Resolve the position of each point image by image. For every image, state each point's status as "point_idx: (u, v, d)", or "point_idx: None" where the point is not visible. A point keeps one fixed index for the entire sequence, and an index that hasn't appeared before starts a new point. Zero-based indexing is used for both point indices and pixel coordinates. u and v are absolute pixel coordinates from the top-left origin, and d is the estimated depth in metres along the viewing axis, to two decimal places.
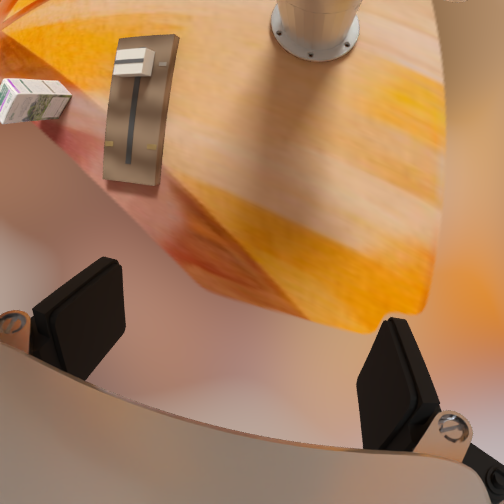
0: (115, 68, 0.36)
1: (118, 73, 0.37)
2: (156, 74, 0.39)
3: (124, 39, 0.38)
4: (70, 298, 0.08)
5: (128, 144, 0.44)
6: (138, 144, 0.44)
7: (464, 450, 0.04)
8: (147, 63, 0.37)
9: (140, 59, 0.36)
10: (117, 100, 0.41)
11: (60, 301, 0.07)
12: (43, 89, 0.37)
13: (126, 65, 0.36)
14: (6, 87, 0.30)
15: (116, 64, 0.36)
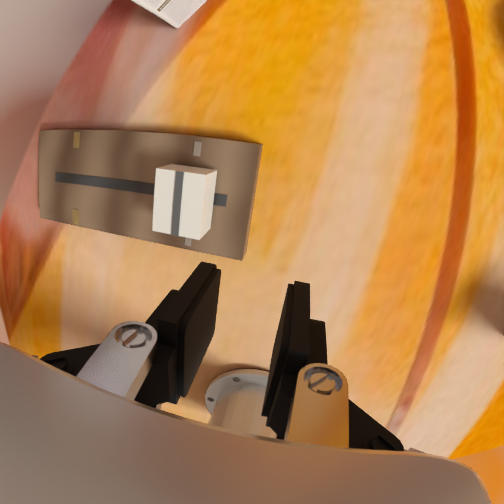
0: (167, 173, 0.22)
1: (157, 180, 0.23)
2: None
3: (253, 158, 0.24)
4: (191, 305, 0.08)
5: (76, 177, 0.27)
6: (76, 194, 0.28)
7: (345, 398, 0.06)
8: None
9: (178, 228, 0.24)
10: (134, 151, 0.25)
11: (185, 308, 0.08)
12: None
13: (170, 198, 0.23)
14: None
15: (174, 175, 0.22)
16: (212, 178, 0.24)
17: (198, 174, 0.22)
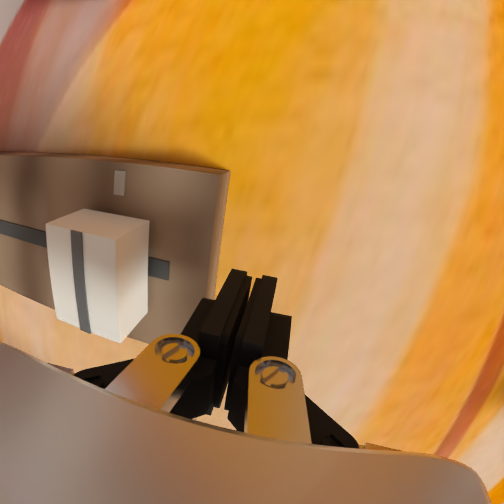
0: (60, 232, 0.12)
1: (49, 244, 0.12)
2: None
3: (210, 199, 0.14)
4: (230, 315, 0.08)
5: None
6: None
7: (301, 390, 0.06)
8: None
9: (88, 322, 0.13)
10: (40, 187, 0.15)
11: (226, 319, 0.08)
12: None
13: (69, 274, 0.12)
14: None
15: (70, 238, 0.12)
16: (137, 238, 0.13)
17: (104, 238, 0.11)
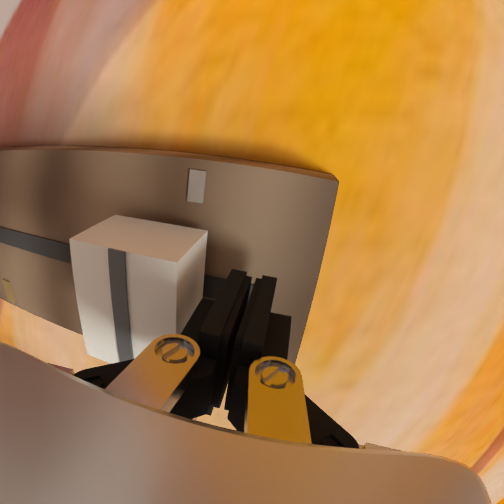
0: (92, 251, 0.09)
1: (75, 265, 0.09)
2: None
3: (325, 210, 0.11)
4: (230, 315, 0.08)
5: None
6: (3, 258, 0.15)
7: (301, 390, 0.06)
8: None
9: None
10: (74, 190, 0.12)
11: (226, 319, 0.08)
12: None
13: (106, 304, 0.10)
14: None
15: (107, 258, 0.09)
16: (196, 255, 0.11)
17: (159, 259, 0.09)
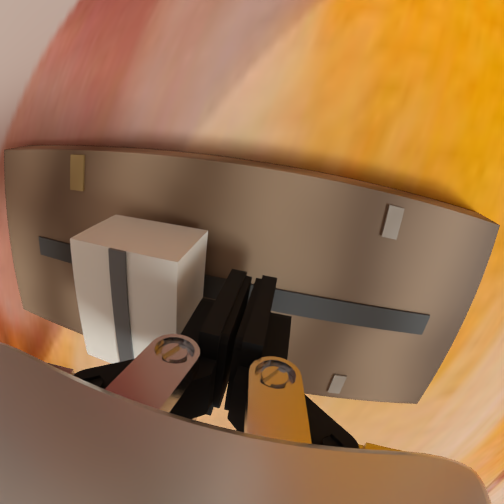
0: (92, 251, 0.09)
1: (76, 264, 0.09)
2: (307, 367, 0.13)
3: (487, 249, 0.10)
4: (230, 315, 0.08)
5: None
6: None
7: (301, 390, 0.06)
8: None
9: None
10: (229, 213, 0.11)
11: (226, 319, 0.08)
12: None
13: (106, 304, 0.10)
14: None
15: (107, 258, 0.09)
16: (197, 255, 0.11)
17: (159, 259, 0.09)
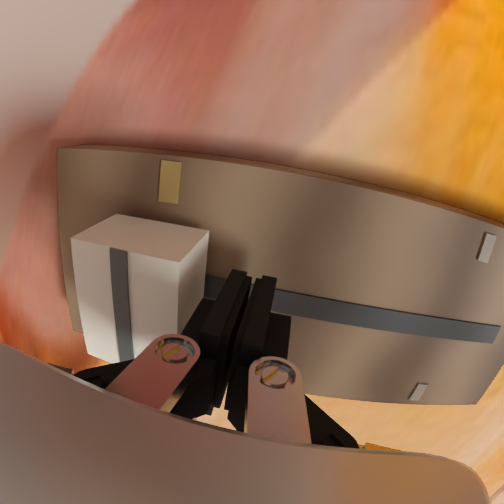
0: (93, 250, 0.09)
1: (76, 264, 0.09)
2: (396, 379, 0.13)
3: None
4: (230, 315, 0.08)
5: None
6: None
7: (300, 390, 0.06)
8: None
9: None
10: (354, 237, 0.11)
11: (226, 320, 0.08)
12: None
13: (107, 304, 0.10)
14: None
15: (108, 258, 0.09)
16: (198, 255, 0.11)
17: (160, 259, 0.09)
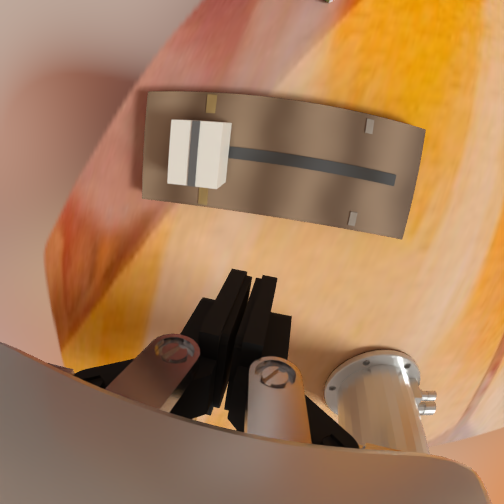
0: (183, 123, 0.21)
1: (172, 131, 0.22)
2: (335, 206, 0.26)
3: (420, 141, 0.22)
4: (230, 315, 0.08)
5: None
6: None
7: (300, 390, 0.06)
8: None
9: (194, 179, 0.23)
10: (296, 122, 0.23)
11: (226, 319, 0.08)
12: None
13: (186, 148, 0.22)
14: None
15: (190, 125, 0.21)
16: (227, 129, 0.23)
17: (215, 122, 0.21)
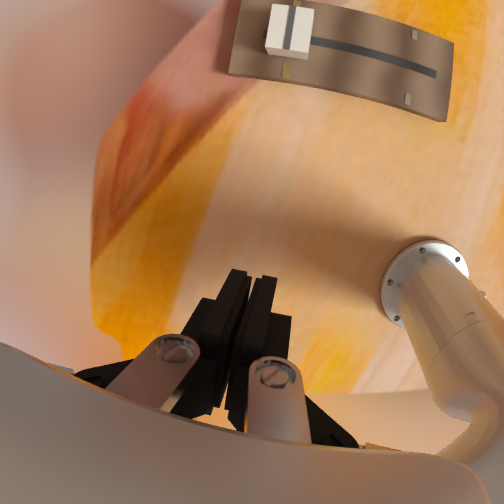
0: (282, 7, 0.23)
1: (272, 11, 0.23)
2: (394, 88, 0.27)
3: (451, 50, 0.23)
4: (230, 315, 0.08)
5: None
6: None
7: (301, 390, 0.06)
8: (283, 52, 0.26)
9: (289, 44, 0.24)
10: (361, 25, 0.25)
11: (226, 319, 0.08)
12: None
13: (283, 23, 0.23)
14: None
15: (288, 8, 0.22)
16: (313, 19, 0.24)
17: (307, 8, 0.22)
